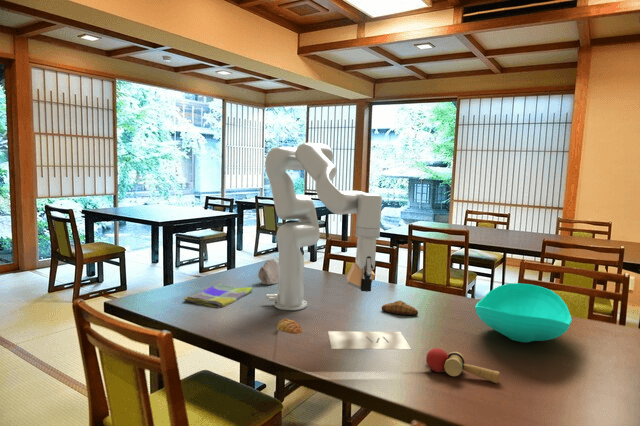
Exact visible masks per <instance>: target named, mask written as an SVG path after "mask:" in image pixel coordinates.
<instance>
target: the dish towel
mask: <svg viewBox="0 0 640 426" xmlns="http://www.w3.org/2000/svg"><path fill="white" fill-rule="evenodd" d="M253 288H254V287H251V286H250V287H249V286H248V287H234V286H230V285H226V284H222V283H220V282H219V283H216V284H214V285H212V286H210V287H208V288H206V289H204V290H201V291H200V292H197V293H195V294H192V295H189V296H187V297H186V296H185V297H184V301H186V302H188V303H193V304H198V305H203V304H204V305H205V306H207V307H208V306H209V307H213V308H218V309H220V308H224V307H226V306H228V305H231V304H233V303H235V302H236V301H239V300H240V299H242V298H244V297H246V296H247V295H249V294H250V293H251V292H252V291H253Z"/></svg>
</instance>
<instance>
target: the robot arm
mask: <svg viewBox="0 0 640 426" xmlns="http://www.w3.org/2000/svg"><path fill="white" fill-rule="evenodd" d="M333 160H334V153H333V151H332V148H331V147H330V146H328V145H327V144H325V143H320V142H319V143H316V142H303V143H301V144H299V145H298V146H297V147H292V146H276V147H274V148H272V149H270V150H269V151H268V153H267V154H266V157H265V162H264V166H265V167H264V168H265V173H266V175H267V178H268V181H269V184H270V189H271V193H272V194H271V195H272V198H273V204H274V209H275V213H276V215H277V218H279V219H280V220H282V221H283V220H284V221H289V220H290V221H291V220H297V221H296V222H288V223H287V222H286V223H284V224H282V225H280V226H279V228H277V231H276V243H277V248H278V264H279V278H278V283H277V284H278V286H277V290H278V291H277V292H276V293H274V294H271V293H270V294H269V293H267V294H266V297H265V298H266V299H265V300H268V301H269V302H270V301H271V302H273V306H274V307H275V308H276V309H279V310H281V311H300V310H303V309H305V308H307V306H308V301H306V300H305V299H304V286H305V285H304V279H305V277H304V276H305V259H304V255H303V253H302V250H301V249H300V248H304V247H310V246H311V247H312V246H314V245H316V244H317V243H318V242H319V240H320V235H321V233H320V232H321V231H320V226H319V221H318V216H317V211H316V206H315V202H314V201H313V199H312V198H311V197H310V196H309V195H307V194H301V193H300V194H297V193H296V190H295V185H294V182H293V179H292V178H291V177H290V175H289V174H288V173H287V170H288V171H305V172H306V173H307V174H308V175H309V176H310V177H311V178H312V179H313V181H314V182H315V192H316V195H317V197H318V200H320V202H321V203H322V204H323V205H324V207H325V208H327V210H328V211H330V212H331V213H333V214H335V215H350V214H351V215H354V214H356V221H355V222H356V223H355V237H356V238H357V242H356V253H355V264H356V265H357V267H358V268H359V269H360V270H361V269H362V278H361V289H360V292H366V291H368V292H371V291H372V283H373V281H372V279H371V278H372V271H373V270H374V269H375V265H376V254H377V253H376V250H377V239H380V237H381V236H380V235H381V234H380V233H381V219H382V204H383V203H382V202H383V201H382V200H383V198H382V196H381V194H379V193H375V192H364V191H361V190H339V189H338V188H337V187H336V185H334V183H332V181H333V180H334V178H335V177H336V175H337V167H336V166H335V165H334V163H333ZM364 268H367V269H364ZM365 271H366V272H365ZM371 282H372V283H371Z"/></svg>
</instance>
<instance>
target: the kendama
mask: <svg viewBox="0 0 640 426" xmlns="http://www.w3.org/2000/svg"><path fill="white" fill-rule="evenodd" d="M465 362H466V361H465V356H463V355H462V353H460V352H458V351H452V352H449V353H447V352H446V350H444V349H442V348H439V347H435V348H434V347H433V348H431V349H430V350H429V351H428V352H427V354H426V359H425V363H426V365H427V367H428V368H429V369H430V370H431V371H433V372H437V373H445V372H446V374H447V375H448V376H451V377H458V376H460V375H461V373H462V372H463V371H464V372H466V373H468V374H471V375H473V376H476V377H479V378H482V379H484V380H486V381H489V382H492V383H494V384H495V385H496V384H498V382H499V379H500V371H498V370H492V369H489V368H485V367H481V366H479V365H478V366H477V365H472V364H467V363H465Z"/></svg>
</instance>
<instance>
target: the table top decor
mask: <svg viewBox="0 0 640 426" xmlns="http://www.w3.org/2000/svg"><path fill="white" fill-rule="evenodd" d="M474 308H475V313H476V315H477V316H478V317H479V319H480V320H481V321H482V322H483V323H484V324H485V325H487V326H488V327H490V328H491V329H493V330H494V331H496V332H497V333H499V334H501V335H503V336H505V337H506V338H508V339H510V340H512V341H515V342H520V343H531V342H540V341H541V342H543V341H549V340H555V339H556V338H558V337H560V336H563V335H564V334H565V333H566V332H567V331H568V330H569V328H570V327H571V323H572V321H573V320H572V315H571V312H570V310H569V307H568V305H567V304H566V303H565V301H564V300H563V299H562V297H561V296H560V295H559V294H557V293H556V292H555V291H553V290H552V289H548V288H546V287H543V286H540V285H535V284H530V283H519V282H516V283H505V284H503V285H499V286H497V287H495V288H493V289H491V290H489V291H488V293H487V294H485V296H483V298H481V299H480V300H478V301H477V303H476V305H475V306H474Z"/></svg>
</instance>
